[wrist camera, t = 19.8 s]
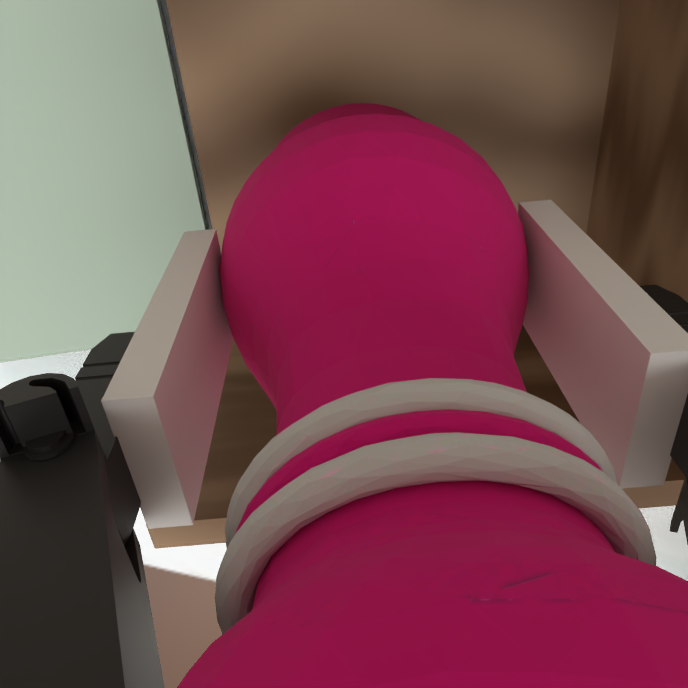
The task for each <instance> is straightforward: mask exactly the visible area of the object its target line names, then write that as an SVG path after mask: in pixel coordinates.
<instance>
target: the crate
mask: <svg viewBox="0 0 688 688" xmlns="http://www.w3.org/2000/svg"><path fill="white" fill-rule="evenodd" d="M166 4H167V9H168V14H169V19H170V24H171V29H172V34H173V39H174V44H175V49H176V54H177V58H178V63H179V68H180V73H181V78H182V83H183V88H184V93H185V98H186V103H187V108H188V112H189V117H190V122H191V127H192V132H193V137H194V142H195V147H196V152H197V157H198V162H199V166H200V171H201V176H202V181H203V186H204V191H205V196H206V201H207V206H208V211H209V216H210V221H211V225H212V229H216V231H217V236H218V241H219V246H220V251H221V254H222V243H223V238H224V233H225V228H226V223H227V220H228V217H229V214H230V212H231V209H232V206H233V204H234V201H235V199H236V198H237V196H238V194H239V192H240V191H241V189H242V187H243V185H244V184H245V182H246V180H247V179H248V178H249V176H250V175H251V174H252V173H253V171H254V170H255V169H256V168H257V167H258V166H259V164H260V163H261V162H262V161H263V160H264V159H265V158H266V157H267V156H268V155H269V154H271V153H272V152H273V150H274V149H275V148H276V146H277V145H278V144H279V142H280V141H281V140H282V139H283V138H284V137H285V136H286V135H287V134H288V133H289V132H290V131H291V130H292V129H293V128H294V127H296V126H297V125H298V124H300V123H301V122H302V121H304V120H306V119H307V118H309V117H311V116H313V115H314V114H316V113H319V112H321V111H324V110H326V109H329V108H332V107H336V106H341V105H346V104H354V103H370V104H380V105H385V106H390V107H393V108H396V109H399V110H402V111H404V112H406V113H408V114H410V115H412V116H414V117H416V118H418V119H419V120H420V121H424V122H427V123H430V124H433V125H435V126H437V127H439V128H441V129H443V130H445V131H447V132H449V133H451V134H453V135H455V136H456V137H458V138H460V139H462V140H463V141H464V142H465V143H466V144H467V145H469V146H470V147H471V148H472V149H473V150H475V151H476V152H477V153H478V154H479V155H480V156H482V157H483V158H484V159H485V161H486V162H487V163H488V165H489V166H490V167H491V168H492V170H493V171H494V172H495V174H496V175H497V176H498V178H499V179H500V180H501V182H502V183H503V185H504V187H505V189H506V191H507V193H508V194H509V196H510V198H511V200H512V202H513V204H514V206H515V208H516V211H517V213H518V208H519V202H528V201H540V200H552V201H553V202H554V203H555V204H556V205H557V206H558V207H559V208H560V209H561V210H562V211H563V212H564V213H565V214H566V215H567V216H568V217H569V218H570V219H571V220H572V221H573V222H574V223H575V224H576V225H577V226H578V227H579V228H580V229H581V230H583V231H584V232H585V233H586V234H587V235H588V236H589V237H590V238H591V239H592V240H593V241H594V242H595V243H596V244H597V245H598V246H599V247H600V248H601V249H602V250H603V251H604V252H605V253H606V254H607V255H608V256H609V257H610V258H611V259H612V260H613V261H614V262H615V263H616V264H617V265H618V266H619V267H620V268H621V269H622V270H623V271H624V272H625V273H626V274H627V275H628V276H630V277H631V278H632V279H633V280H634V281H635V282H636V283H637V284H638V285H639V286H644V285H658V286H660V287H662V288H664V289H666V290H669V291H671V292H673V293H675V294H677V295H679V296H681V297H682V298H683V299H684V300H685V301H686V302H687V303H688V0H166ZM514 359H515V362H516V364H517V367H518V370H519V372H520V375H521V378H522V380H523V383H524V386H525V388H526V391H527V393H529V394H531V395H534V396H536V397H538V398H540V399H543V400H545V401H547V402H549V403H551V404H553V405H555V406H556V407H558V408H560V409H561V410H563V411H565V412H566V413H568V414H570V415H571V416H572V417H573V418H575V419H576V420H577V421H578V422H579V420H578V418H577V417H576V415H575V413H574V411H573V410H572V408H571V406H570V405H569V403H568V401H567V399H566V398H565V396H564V394H563V393H562V391H561V389H560V387H559V386H558V384H557V382H556V381H555V379H554V377H553V375H552V374H551V372H550V370H549V369H548V367H547V365H546V363H545V362H544V360H543V358H542V357H541V355H540V353H539V351H538V350H537V348H536V346H535V345H534V343H533V341H532V339H531V338H530V336H529V334H528V333H527V331H526V329H525V327H524V326H523V324H522V328H521V331H520V335H519V338H518V341H517V345H516V348H515V352H514ZM579 423H580V422H579ZM580 424H581V423H580ZM276 434H277V412H276V409H275V407H274V405H273V404H272V402H271V400H270V399H269V397H268V396H267V394H266V393H265V391H264V390H263V388H262V387H261V385H260V384H259V383H258V381H257V380H256V378H255V377H254V375H253V374H252V373H251V371H250V370H249V368H248V367H247V365H246V363H245V361H244V359H243V357H242V355H241V353H240V351H239V349H238V347H237V345H236V343H235V340H234V338H233V343H232V348H231V352H230V357H229V362H228V366H227V371H226V375H225V380H224V385H223V389H222V394H221V398H220V403H219V408H218V412H217V417H216V421H215V426H214V431H213V435H212V440H211V444H210V449H209V454H208V458H207V463H206V467H205V472H204V477H203V481H202V486H201V490H200V495H199V500H198V504H197V509H196V514H195V518H194V523H193V525H188V526H176V527H165V528H153V529H148V531H149V534H150V536H151V539H152V542H153V544H154V547H155V548H165V547H177V546H190V545H202V544H214V543H226V537H225V526H226V519H227V512H228V508H229V504H230V501H231V497H232V495H233V493H234V491H235V488H236V486H237V484H238V482H239V480H240V479H241V477H242V476H243V474H244V473H245V471H246V470H247V468H248V467H249V465H250V464H251V462H252V461H253V459H254V458H255V456H256V455H257V454H258V453H259V452H260V451H261V450H262V449H263V448H264V447H265V446H266V445H267V444H268V443H269V442H270V440H271V439H272V438H274V437H275V436H276ZM684 479H685V475H684V474H683V473H682V471H681V470H680V469H679V467H678V466H677V464H676V463H675V462H674V460H673V459H671V462H670V465H669V469H668V472H667V476H666V479H665V482H664V485H658V486H646V487H634V488H622V490H623V491H624V492H625V493H626V494H627V495H628V497H629V498H630V499H631V500H632V501H633V503H634V504H635V505H636V506H637V507H638V508H649V507H661V506H673V505H677V501H678V498H679V495H680V492H681V489H682V486H683V482H684ZM146 525H147V524H146ZM147 528H148V527H147Z"/></svg>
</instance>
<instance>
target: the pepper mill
mask: <svg viewBox="0 0 688 688" xmlns="http://www.w3.org/2000/svg"><path fill="white" fill-rule="evenodd" d="M220 278H221V290H222V301H223V306H224V310H225V313H226V316H227V320H228V323H229V327H230V330H231V333H232V336H233V338H234V340H235V343H236V345H237V347H238V349H239V351H240V353H241V355H242V357H243V359H244V361H245V363H246V365H247V367H248V368H249V370H250V371H251V373H252V374H253V375H254V377H255V378H256V380H257V381H258V383H259V384H260V385H261V387H262V388H263V390H264V391H265V393H266V394H267V396H268V397H269V399H270V400H271V402H272V404H273V405H274V407H275V409H276V412H277V434H276V436H275V437H274V438H272V439H271V440H270V442H269V443H268V444H267V445H266V446H265V447H264V448H263V449H262V450H261V451H260V452H259V453H258V454H257V455H256V456H255V458H254V459H253V461H252V462H251V464H250V465H249V467H248V468H247V470H246V471H245V473H244V474H243V476H242V477H241V479H240V480H239V482H238V484H237V486H236V488H235V491H234V493H233V495H232V497H231V501H230V504H229V508H228V512H227V519H226V526H225V537H226V546H227V550H226V553H225V555H224V558H223V560H222V563H221V565H220V568H219V571H218V574H217V579H216V593H215V602H216V612H217V620H218V623H219V626H220V628H221V631H222V634H223V635H222V636H220V637H219V638H218V639H217V640H215V641H214V642H213V643H212V644H211V645H210V646H209V647H208V648H207V650H206V651H205V652H204V653H203V654H202V656H201V657H200V658H199V659H198V661H197V662H196V663H195V664H194V666H193V667H192V668H191V669H190V670H189V672H188V673H187V674H186V676H185V677H184V678H183V680H182V681H181V683H180V684H179V686H178V687H177V688H688V581H686V580H684V579H682V578H680V577H678V576H676V575H674V574H672V573H669V572H667V571H665V570H663V569H661V568H659V567H657V566H656V554H655V550H654V546H653V542H652V538H651V534H650V530H649V527H648V525H647V523H646V521H645V519H644V517H643V515H642V513H641V511H640V510H639V508H638V507H637V506H636V505H635V504H634V503H633V501H632V500H631V499H630V498H629V497H628V495H627V494H626V493H625V492H624V491H623V490H622V488H621V487H620V486H619V485H618V483H617V479H616V475H615V471H614V469H613V467H612V465H611V463H610V461H609V459H608V457H607V455H606V453H605V451H604V449H603V448H602V446H601V445H600V444H599V443H598V441H597V440H596V439H595V438H594V436H593V435H592V434H591V433H590V432H589V431H588V430H587V429H586V428H585V427H584V426H583V425H581V424H580V423H579V422H578V421H577V420H576V419H575V418H573V417H572V416H571V415H570V414H568V413H566V412H565V411H563V410H561V409H560V408H558V407H556V406H555V405H553V404H551V403H549V402H547V401H545V400H543V399H540V398H538V397H536V396H534V395H531V394H529V393H527V391H526V388H525V386H524V383H523V380H522V378H521V375H520V372H519V370H518V367H517V364H516V362H515V359H514V352H515V348H516V345H517V341H518V338H519V335H520V331H521V328H522V324H523V321H524V316H525V312H526V307H527V303H528V282H529V268H528V252H527V244H526V240H525V235H524V230H523V225H522V223H521V220H520V218H519V216H518V213H517V211H516V208H515V206H514V204H513V202H512V200H511V198H510V196H509V194H508V193H507V191H506V189H505V187H504V185H503V183H502V182H501V180H500V179H499V178H498V176H497V175H496V174H495V172H494V171H493V170H492V168H491V167H490V166H489V165H488V163H487V162H486V161H485V159H484V158H483V157H482V156H480V155H479V154H478V153H477V152H476V151H475V150H473V149H472V148H471V147H470V146H469V145H467V144H466V143H465V142H464V141H463V140H462V139H460V138H458V137H456V136H455V135H453V134H451V133H449V132H447V131H445V130H443V129H441V128H439V127H437V126H435V125H433V124H430V123H427V122H424V121H420V120H419V119H418V118H416V117H414V116H412V115H410V114H408V113H406V112H404V111H402V110H399V109H396V108H393V107H390V106H385V105H380V104H370V103H354V104H346V105H341V106H336V107H332V108H329V109H326V110H324V111H321V112H319V113H316V114H314V115H313V116H311V117H309V118H307V119H306V120H304V121H302V122H301V123H300V124H298V125H297V126H296V127H294V128H293V129H292V130H291V131H290V132H289V133H288V134H287V135H286V136H285V137H284V138H283V139H282V140H281V141H280V142H279V144H278V145H277V146H276V148H275V149H274V150H273V152H272V153H271V154H269V155H268V156H267V157H266V158H265V159H264V160H263V161H262V162H261V163H260V164H259V166H258V167H257V168H256V169H255V170H254V171H253V173H252V174H251V175H250V176H249V178H248V179H247V180H246V182H245V184H244V185H243V187H242V189H241V191H240V192H239V194H238V196H237V198H236V199H235V201H234V204H233V206H232V209H231V212H230V214H229V217H228V220H227V223H226V228H225V233H224V238H223V243H222V254H221V264H220Z"/></svg>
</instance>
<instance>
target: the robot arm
mask: <svg viewBox="0 0 688 688" xmlns="http://www.w3.org/2000/svg"><path fill="white" fill-rule="evenodd" d="M518 216H519V218H520V220H521V223H522V225H523V230H524V235H525V240H526V244H527V252H528V268H529V282H528V303H527V307H526V312H525V316H524V321H523V326H524V327H525V329H526V331H527V333H528V334H529V336H530V338H531V339H532V341H533V343H534V345H535V346H536V348H537V350H538V351H539V353H540V355H541V357H542V358H543V360H544V362H545V363H546V365H547V367H548V369H549V370H550V372H551V374H552V375H553V377H554V379H555V381H556V382H557V384H558V386H559V387H560V389H561V391H562V393H563V394H564V396H565V398H566V399H567V401H568V403H569V405H570V406H571V408H572V410H573V411H574V413H575V415H576V417H577V418H578V420H579V422H580V423H581V425H583V426H584V427H585V428H586V429H587V430H588V431H589V432H590V433H591V434H592V435H593V436H594V438H595V439H596V440H597V441H598V443H599V444H600V445H601V446H602V448H603V449H604V451H605V453H606V455H607V457H608V459H609V461H610V463H611V465H612V467H613V469H614V471H615V475H616V479H617V483H618V485H619V486H620V487H621V488H634V487H646V486H658V485H664V482H665V479H666V476H667V472H668V469H669V465H670V462H671V459H673V460H674V462H675V463H676V464H677V466H678V467H679V469H680V470H681V471H682V473H683V474H684V475H685V479H684V482H683V486H682V489H681V492H680V495H679V498H678V501H677V505H676V508H675V511H674V514H673V517H672V520H671V526H670V531H672V532H678V528H679V525H680V522H681V521H683V520H684V526H685V532H686V538H687V544H688V303H687V302H686V301H685V300H684V299H683V298H682V297H681V296H679V295H677V294H675V293H673V292H671V291H669V290H666V289H664V288H662V287H660V286H658V285H644V286H639V285H638V284H637V283H636V282H635V281H634V280H633V279H632V278H631V277H630V276H628V275H627V274H626V273H625V272H624V271H623V270H622V269H621V268H620V267H619V266H618V265H617V264H616V263H615V262H614V261H613V260H612V259H611V258H610V257H609V256H608V255H607V254H606V253H605V252H604V251H603V250H602V249H601V248H600V247H599V246H598V245H597V244H596V243H595V242H594V241H593V240H592V239H591V238H590V237H589V236H588V235H587V234H586V233H585V232H584V231H583V230H581V229H580V228H579V227H578V226H577V225H576V224H575V223H574V222H573V221H572V220H571V219H570V218H569V217H568V216H567V215H566V214H565V213H564V212H563V211H562V210H561V209H560V208H559V207H558V206H557V205H556V204H555V203H554V202H553V201H552V200H540V201H528V202H519V208H518ZM220 264H221V251H220V246H219V241H218V236H217V231H216V229H209V230H198V231H186V232H184V233H183V235H182V237H181V240H180V242H179V244H178V246H177V248H176V250H175V252H174V254H173V256H172V258H171V260H170V262H169V264H168V266H167V268H166V270H165V272H164V274H163V276H162V278H161V280H160V282H159V284H158V286H157V288H156V290H155V292H154V294H153V296H152V298H151V301H150V303H149V305H148V307H147V309H146V311H145V313H144V315H143V317H142V319H141V321H140V323H139V325H138V327H137V329H136V331H135V332H124V333H113V334H110V335H108V336H107V337H106V338H105V339H103V340H102V341H101V342H100V343H99V344H97V345H96V346H95V347H94V348H92V350H91V352H90V353H89V355H88V357H87V358H86V360H85V362H84V364H83V368H81V369H80V370H79V372H78V374H77V376H76V377H75V379H76V381H75V380H74V378H71V377H69V376H67V375H64V374H54V373H46V374H40V375H35V376H29V377H27V378H24V379H21V380H18V381H16V382H13V383H11V384H9V385H7V386H5V387H4V388H2V389H0V688H164V682H163V676H162V671H161V664H160V659H159V653H158V647H157V642H156V636H155V630H154V624H153V618H152V613H151V607H150V601H149V595H148V590H147V584H146V578H145V572H144V566H143V560H142V555H141V549H140V544H139V542H138V539H137V537H136V534H135V532H134V529H133V526H134V523H135V520H136V517H137V514H138V511H139V508H141V510H142V513H143V516H144V519H145V521H146V524H147V527H148V529H153V528H165V527H176V526H188V525H193V523H194V518H195V514H196V509H197V504H198V500H199V495H200V490H201V486H202V481H203V477H204V472H205V467H206V463H207V458H208V454H209V449H210V444H211V440H212V435H213V431H214V426H215V421H216V417H217V412H218V408H219V403H220V398H221V394H222V389H223V385H224V380H225V375H226V371H227V366H228V362H229V357H230V352H231V348H232V343H233V336H232V333H231V330H230V327H229V323H228V320H227V316H226V313H225V310H224V306H223V301H222V290H221V278H220Z"/></svg>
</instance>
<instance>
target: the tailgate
mask: <svg viewBox="0 0 688 688" xmlns="http://www.w3.org/2000/svg"><path fill="white" fill-rule="evenodd" d="M198 230H208V228H207V224H206V219H205V214H204V209H203V204H202V200H201V195H200V190H199V185H198V180H197V176H196V171H195V166H194V161H193V156H192V152H191V147H190V142H189V137H188V132H187V127H186V123H185V118H184V113H183V108H182V103H181V99H180V94H179V89H178V84H177V79H176V75H175V70H174V65H173V60H172V55H171V51H170V46H169V41H168V36H167V31H166V27H165V22H164V17H163V12H162V7H161V2H160V0H0V362H7V361H14V360H20V359H27V358H34V357H41V356H47V355H54V354H61V353H67V352H74V351H81V350H87V349H92V348H94V347H95V346H96V345H97V344H99V343H100V342H101V341H102V340H103V339H105V338H106V337H107V336H108V335H110V334H113V333H124V332H135V331H136V329H137V327H138V325H139V323H140V321H141V319H142V317H143V315H144V313H145V311H146V309H147V307H148V305H149V303H150V301H151V298H152V296H153V294H154V292H155V290H156V288H157V286H158V284H159V282H160V280H161V278H162V276H163V274H164V272H165V270H166V268H167V266H168V264H169V262H170V260H171V258H172V256H173V254H174V252H175V250H176V248H177V246H178V244H179V242H180V240H181V237H182V235H183V233H184V232H186V231H198Z"/></svg>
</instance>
